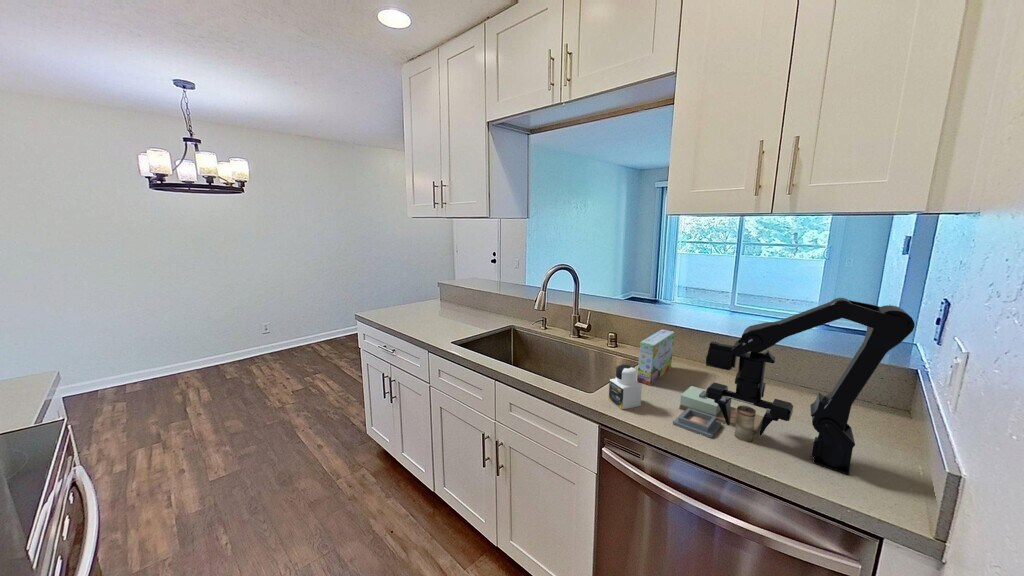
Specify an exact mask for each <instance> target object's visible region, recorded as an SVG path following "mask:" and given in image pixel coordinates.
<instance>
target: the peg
mask: <svg viewBox="0 0 1024 576" xmlns="http://www.w3.org/2000/svg"><path fill="white" fill-rule="evenodd" d="M755 414H757V411H756V410H755V409H754V408H753V407H751V406H748V405H738V406H737V418H736V426H735V427H734V437H735V438H736V439H737V440H739V441H743V442H752V441H753V435H754V433H753V428H754V420H755Z"/></svg>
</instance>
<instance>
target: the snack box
mask: <svg viewBox="0 0 1024 576" xmlns="http://www.w3.org/2000/svg"><path fill="white" fill-rule="evenodd" d="M675 332H676V331H670V330H667V329H660V330H658V331H656V332H655V333H653V334H651V335H650V336H648V337H646V338H645V339H642V340H641V341H640V343H639V344H640V345H639V353H638V354H639V355H638V365H637V374H636V381H637V382H638V383H640V384H643V385H647V386H651V385H653V384H654V383H655V382H656V381H657V380H659V379H660V378H661V377H663V376H664V375H665V374H666V373H667V372H669V371H670V370H671V369H672V364H673V363H672V360H673V352H674V351H673V350H674V342H675V335H676V333H675Z"/></svg>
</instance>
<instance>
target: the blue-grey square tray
mask: <svg viewBox="0 0 1024 576" xmlns="http://www.w3.org/2000/svg"><path fill="white" fill-rule="evenodd" d="M672 425H673V426H676V427H679V428H682V429H685V430H687V431H690V432H693V433H695V434H697V435H698V434H699V435H700V434H701V435H700V436H703V437H707V438H709V439H712V438H714V436H715V434H716V433H717V431H719V428H720V427H721V426H722V423H721V422H718V421H716V417H715V416H712V415H709V414H706V413H703V412H700V411H697V410H693V409H690V408H688V409H687V410H686V411H685V410H682V412H681V413H680V414H679V415H678V416H677V417H676V419H674V420H673V422H672Z"/></svg>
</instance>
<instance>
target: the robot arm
mask: <svg viewBox="0 0 1024 576" xmlns="http://www.w3.org/2000/svg"><path fill="white" fill-rule="evenodd" d="M840 319H844V320H847V321H851V322H853V323H857V324H860V325H862V326H865V327H866V330H865V336H864V339H863V342H862V343H861V345H860V346H859V348H858V350H857V352H856V353H855V355H854V356H853V358H852V359H851V361H850V362H849V364H848V365H847V367H846V368H845V370H844V371H843V373H842V375H841V376H840V377H839V380H838V381H837V382H836V384H835V385H834V387H833V389H832V390H831V391H830V392H829V393H827V394H826V395H824V394H823V393H821V392H818V393H817V396H816V398H815V400H814V401H813V403H810V405H809V406H810V407H809V408H810V417H811V425H812V427H813V428H814V430H815V431H816V432H817V433H818V435H817V436H815V437H814V439H813V446H812V451H811V456H812V457H813V460H812V462H813V464H816V465H818V466H822V467H824V468H827V469H830V470H833V471H836V472H838V473H841V474H844V475H850V471H851V461H852V456H853V455H852V454H853V449H854V447H855V446H856V442H855V438H854V434H853V433H854V432H853V430H852V427H851V426H850V424H848V421H849V417H850V413H851V410H852V405H853V404H854V402H855V401H856V399H857V397H858V396H859V395H860V393H861V392H862V391H863V388H865V386H866V384H867V383H868V381H869V380H870V379H871V377H872V375H873V374H874V373H875V371H876V370H877V368H878V366H879V365H880V364H881V362H882V361H883V359H884V358H885V356H886V354H887V353H888V352H890V351H891V350H893V349H894V348H895V347H897V346H899V345H900V344H901V343H902V342H903V341H904V340H905V339H906V338H908V336H909V335H911V333H912V332H913V331H914V330H915V327H916V325H915V320H914V319H913V318H912V316H910V315H909V314H908V313H907V311H905V310H904V309H903V308H901V307H899V306H896V305H891V304H890V305H882V306H878V305H875V304H871V303H867V302H866V303H864V302H861V301H860V302H859V301H855V300H851V299H848V298H845V297H837V298H834V299H832V300H831V301H828V302H826V303H824V304H823V303H822V304H820V305H817V306H816V307H812V308H810V309H807V310H804V311H802V312H801V311H800V312H799V313H796V314H794V315H791V316H788V317H786V318H783V319H780V320H776V321H771V322H762V323H758V324H753V325H749V326H748V327H746V328H745V329H744V331H743V333H742V335H741V336H740V337H741V338H739V339H738V340H737V341H735V343H734V344H733V345H731V344H725V343H719V342H718V341H712V340H711V341H710V342H709V346H708V351H707V354H706V356H705V357H706V358H705V366H706V367H710V368H715V369H720V370H723V371H724V370H725V371H729V372H730V371H732V370H733V368H734V369H735V368H736V367H737V361H739V362H738V370H737V372H736V375H735V380H734V384H735V385H736V386H735V387H736V388H735V391H733V390H729V387H728V385H726V384H723V383H719V382H715V381H713V382H712V383H711V384H709V386H708V387H707V388H706V389H705V390H706V397H707V398H710V399H713V400H714V402H715V403H717V404H718V405H719V407H720V409H721V411H722V413H723V415H724V418H725V421H726V424H725V425H726V426H730V419H731V407H732V406H731V405H732V404H731V403H732V400H735V401H737V402H742V403H745V404H748V405H751V406H755V407H758V408H761V409H765V410H766V411H765V413H764V415H763V416H764V417H763V421H762V423H761V424H760V427H759V428H760V429H759V433H758V434H759V437H762V436H763V434H764V432H765V430H766V429H767V427H768V426H769V425H770V424H771V423H772V421H775V422H778V421H779V420H781V421H784V422H790V420H791V418H792V415H793V411H794V405H793V403H792V402H789V401H786V400H781V399H778V398H774V400H773V401H768V400H764V399H763V398H764V396H765V389H766V382H764V380H765V372H766V365H767V364H766V363H769V364H775V363H776V357H775V356H774V355H773V354H772V353H771V351H770V350H767V349H769V348H771V347H773V346H775V345H776V344H777V343H779V342H780V341H782V340H784V339H785V338H788V337H791V336H793V335H794V336H795V335H796V334H799V333H803V332H805V331H809V330H812V329H814V328H817V327H820V326H823V325H826V324H829V323H832V322H835V321H837V320H840ZM766 350H767V351H766ZM738 358H739V360H738Z"/></svg>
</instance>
